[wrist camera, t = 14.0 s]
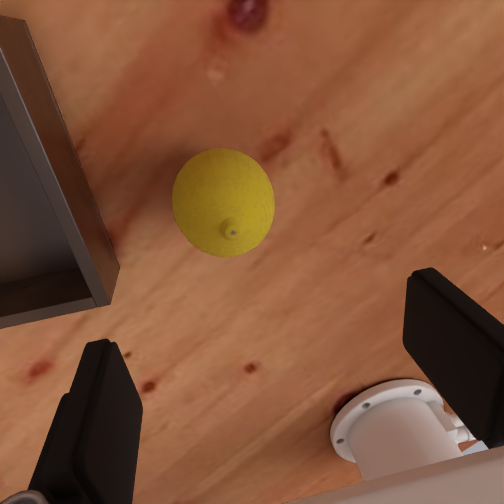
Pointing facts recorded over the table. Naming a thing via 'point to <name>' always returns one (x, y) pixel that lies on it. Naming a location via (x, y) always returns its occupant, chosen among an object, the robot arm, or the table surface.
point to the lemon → (223, 202)
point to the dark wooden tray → (44, 199)
